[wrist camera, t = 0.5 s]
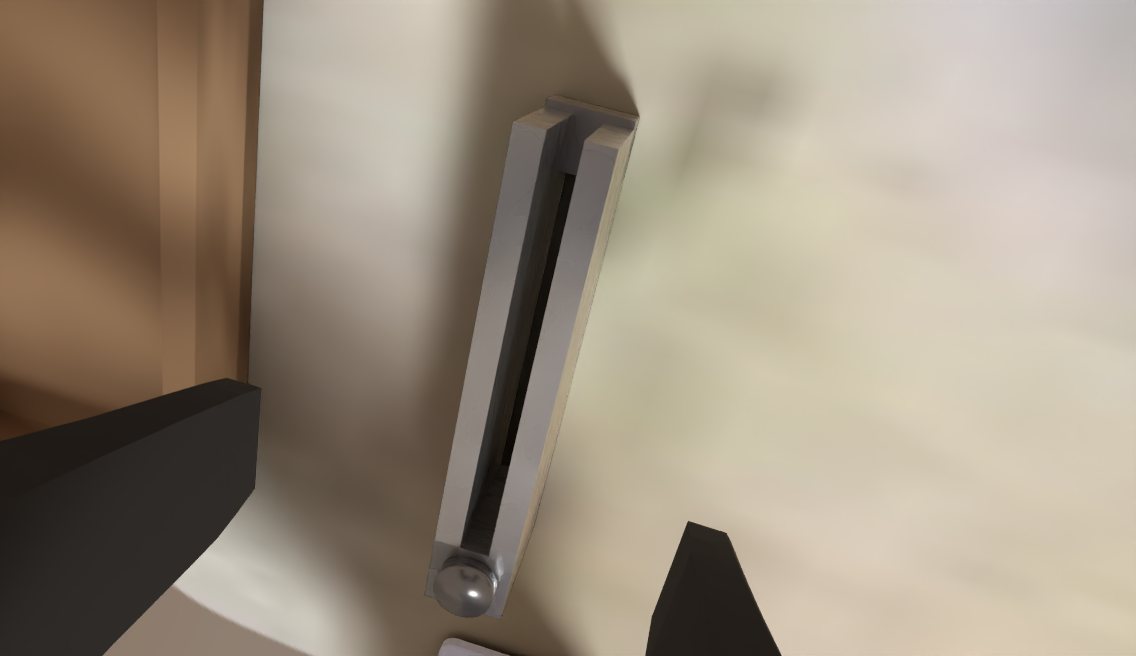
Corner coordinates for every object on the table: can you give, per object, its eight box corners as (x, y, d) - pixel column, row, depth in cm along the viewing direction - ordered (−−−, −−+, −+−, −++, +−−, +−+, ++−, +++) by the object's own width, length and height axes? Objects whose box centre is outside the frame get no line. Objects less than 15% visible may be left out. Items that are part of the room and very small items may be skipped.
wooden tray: (242, 497, 25) (193, 545, 23) (-14, 415, 26) (-87, 453, 24) (267, -81, 18) (198, -98, 15) (-94, -171, 19) (-211, -200, 16)
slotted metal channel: (533, 527, 23) (495, 633, 19) (469, 507, 23) (417, 608, 19) (639, 116, 18) (618, 143, 14) (554, 94, 18) (508, 113, 14)
